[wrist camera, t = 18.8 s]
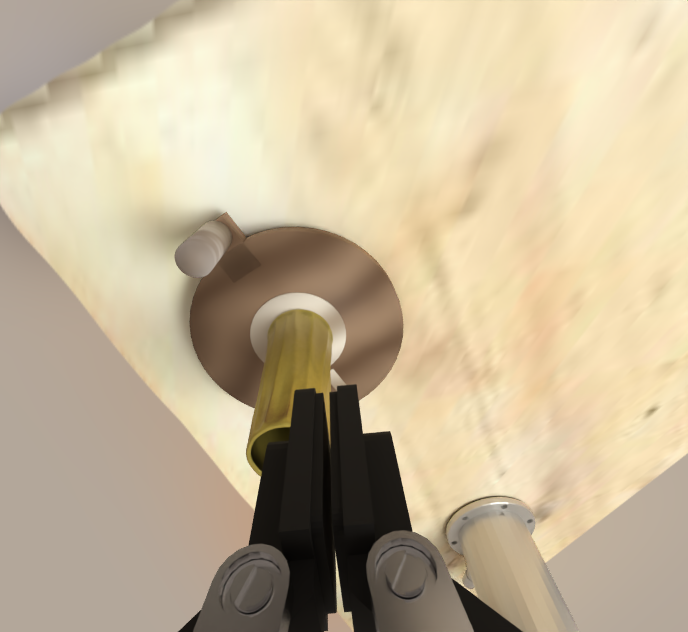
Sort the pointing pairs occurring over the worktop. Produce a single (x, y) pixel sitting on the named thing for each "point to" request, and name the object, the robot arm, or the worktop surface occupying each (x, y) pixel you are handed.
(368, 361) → the turntable
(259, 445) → the vase
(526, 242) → the worktop surface
